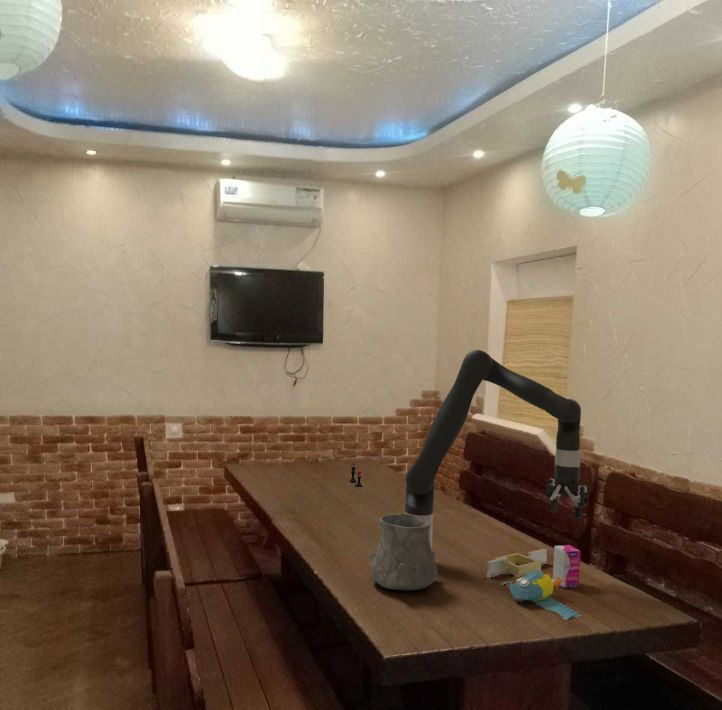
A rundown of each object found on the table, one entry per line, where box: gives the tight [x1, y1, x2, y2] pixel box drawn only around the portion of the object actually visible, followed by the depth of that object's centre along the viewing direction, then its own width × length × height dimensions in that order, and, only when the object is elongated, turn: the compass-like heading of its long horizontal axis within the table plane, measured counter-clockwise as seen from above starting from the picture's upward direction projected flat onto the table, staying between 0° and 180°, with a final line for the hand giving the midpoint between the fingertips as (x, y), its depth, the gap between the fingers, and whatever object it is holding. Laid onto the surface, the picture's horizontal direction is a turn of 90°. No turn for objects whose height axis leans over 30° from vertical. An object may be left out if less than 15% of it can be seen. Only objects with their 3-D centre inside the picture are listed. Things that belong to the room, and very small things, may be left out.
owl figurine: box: [501, 570, 582, 621], centre depth 185 cm, size 28×9×15 cm
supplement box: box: [552, 544, 582, 589], centre depth 198 cm, size 6×6×12 cm
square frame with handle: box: [486, 548, 548, 579], centre depth 209 cm, size 26×10×5 cm, turn 123°
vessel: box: [370, 513, 439, 591], centre depth 194 cm, size 22×22×20 cm
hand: (566, 515), depth 200 cm, fingers open, 8 cm apart
